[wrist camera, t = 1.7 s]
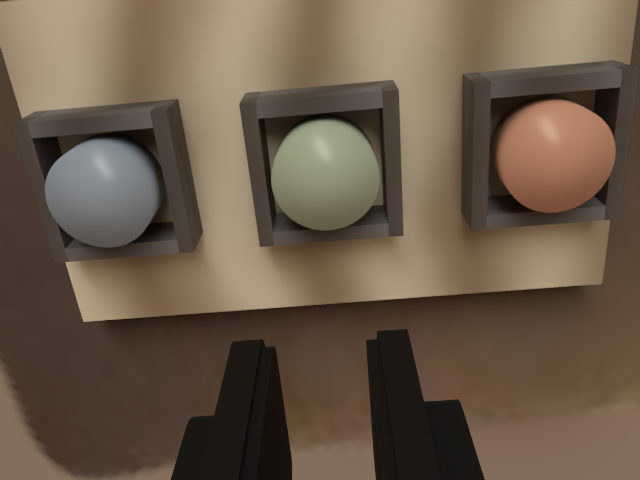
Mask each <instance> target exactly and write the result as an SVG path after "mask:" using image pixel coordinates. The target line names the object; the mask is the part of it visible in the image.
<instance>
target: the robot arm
mask: <svg viewBox="0 0 640 480" xmlns="http://www.w3.org/2000/svg"><path fill="white" fill-rule="evenodd" d="M366 346H367V361H368V376H369V391H370V406H371V420H372V435H373V450H374V462H375V473H376V480H485V479H484V476H483V473H482V470H481V467H480V463H479V460H478V457H477V454H476V450H475V447H474V444H473V441H472V437H471V434H470V431H469V428H468V425H467V421H466V418H465V415H464V412H463V408H462V406H461V403H460V402H459V400H443V401H428V402H424V400H423V396H422V391H421V387H420V383H419V378H418V374H417V369H416V365H415V361H414V356H413V352H412V347H411V343H410V339H409V334H408V330H407V329H400V330H386V331H377V339H372V340H366ZM171 480H292V458H291V451H290V444H289V437H288V430H287V423H286V416H285V409H284V402H283V395H282V388H281V382H280V375H279V368H278V361H277V354H276V349H275V347H274V346H273V347H265V344H264V341H263V339H259V340H245V341H233V342H232V345H231V348H230V352H229V356H228V361H227V365H226V369H225V373H224V377H223V381H222V385H221V390H220V394H219V398H218V402H217V406H216V410H215V415H214V416H200V417H192V418H191V419H190V420H189V422H188V424H187V427H186V430H185V433H184V437H183V440H182V444H181V447H180V450H179V454H178V457H177V461H176V464H175V467H174V471H173V474H172V477H171Z"/></svg>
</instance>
